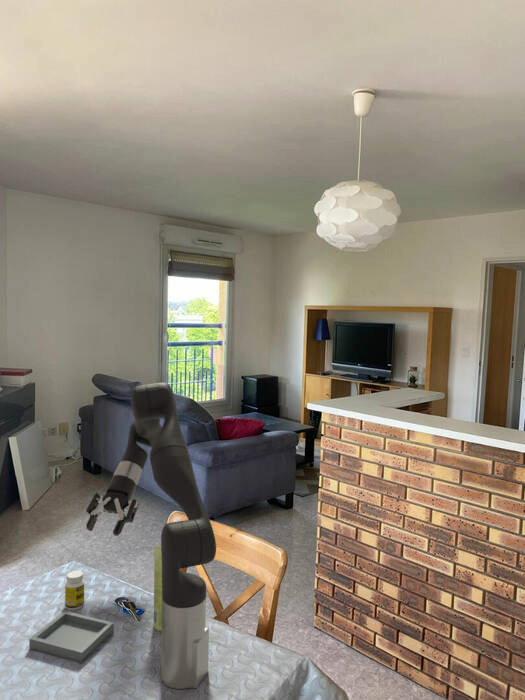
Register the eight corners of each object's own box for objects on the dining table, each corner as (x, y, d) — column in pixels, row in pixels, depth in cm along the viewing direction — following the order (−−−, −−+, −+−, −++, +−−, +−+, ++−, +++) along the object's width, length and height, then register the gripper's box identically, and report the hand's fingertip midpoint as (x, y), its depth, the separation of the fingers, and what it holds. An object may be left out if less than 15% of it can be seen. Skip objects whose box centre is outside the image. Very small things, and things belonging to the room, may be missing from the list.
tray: (113, 632, 127) (113, 622, 127) (81, 663, 115) (82, 652, 115) (64, 620, 131) (64, 610, 131) (29, 649, 120) (29, 638, 119)
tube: (175, 618, 133) (177, 543, 132) (177, 630, 128) (178, 552, 127) (152, 621, 132) (153, 544, 131) (153, 633, 127) (154, 554, 126)
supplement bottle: (77, 611, 135) (78, 579, 134) (61, 609, 136) (61, 577, 135) (87, 601, 140) (88, 570, 139) (71, 599, 141) (71, 568, 140)
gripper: (99, 470, 157) (74, 522, 147) (141, 476, 153) (118, 530, 143) (109, 483, 163) (86, 533, 153) (150, 489, 158) (129, 541, 148)
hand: (101, 532), depth 148 cm, fingers open, 8 cm apart
